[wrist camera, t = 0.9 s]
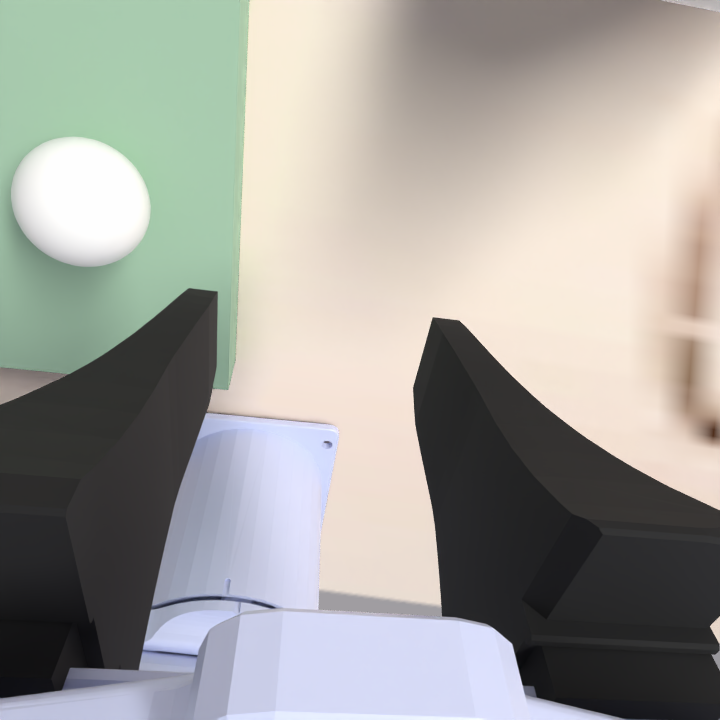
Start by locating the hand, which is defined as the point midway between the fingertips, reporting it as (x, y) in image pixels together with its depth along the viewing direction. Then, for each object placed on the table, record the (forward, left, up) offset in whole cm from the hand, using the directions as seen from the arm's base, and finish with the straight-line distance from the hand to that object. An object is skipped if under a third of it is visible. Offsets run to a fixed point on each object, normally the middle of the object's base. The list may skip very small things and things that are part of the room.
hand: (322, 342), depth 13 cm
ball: (0, +7, -6) cm, 9 cm away
